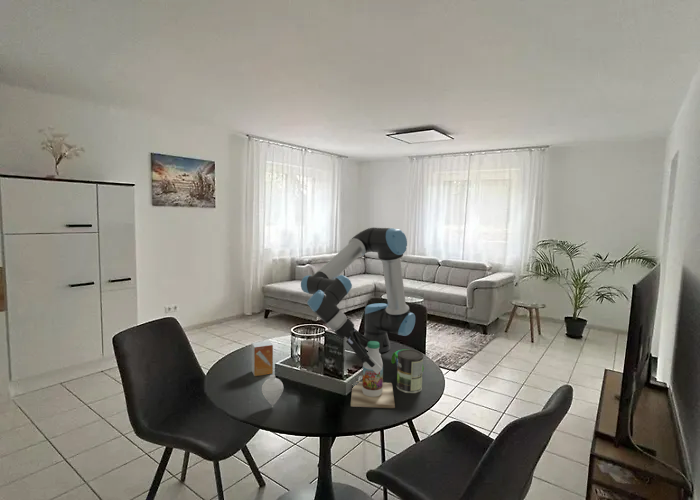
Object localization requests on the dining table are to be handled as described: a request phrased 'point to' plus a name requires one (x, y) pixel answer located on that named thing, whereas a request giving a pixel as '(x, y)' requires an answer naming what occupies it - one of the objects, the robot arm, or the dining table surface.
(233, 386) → the dining table surface
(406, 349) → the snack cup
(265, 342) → the small box
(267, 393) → the spinning top
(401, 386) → the coffee can
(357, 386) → the ash board
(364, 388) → the milk bottle
